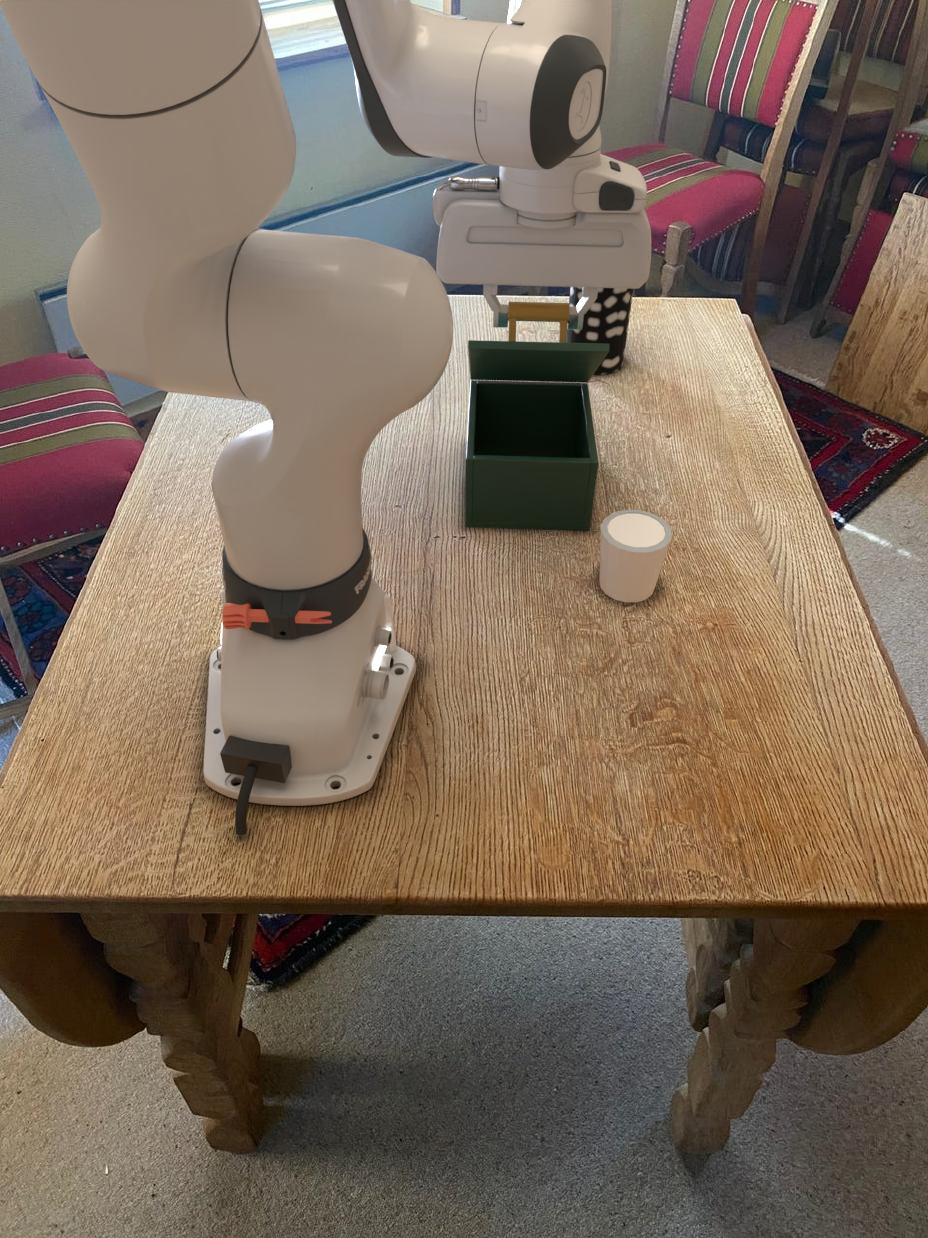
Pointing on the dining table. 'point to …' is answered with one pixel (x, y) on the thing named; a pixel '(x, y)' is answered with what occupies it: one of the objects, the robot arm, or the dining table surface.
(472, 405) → the chest
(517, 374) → the lid
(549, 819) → the dining table surface
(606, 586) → the shot glass
